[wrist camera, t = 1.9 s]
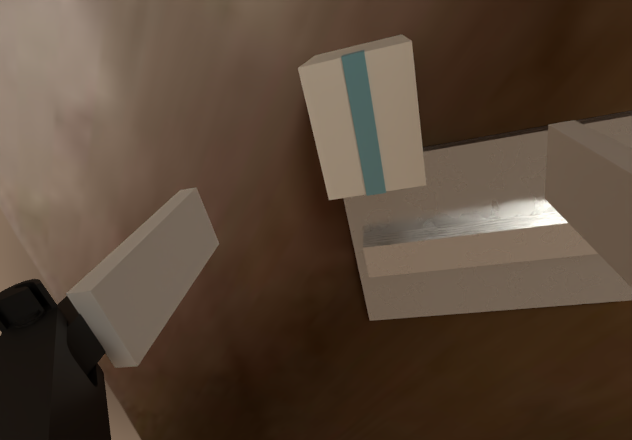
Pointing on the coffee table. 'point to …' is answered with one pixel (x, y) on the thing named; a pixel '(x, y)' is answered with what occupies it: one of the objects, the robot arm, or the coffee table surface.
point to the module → (365, 117)
